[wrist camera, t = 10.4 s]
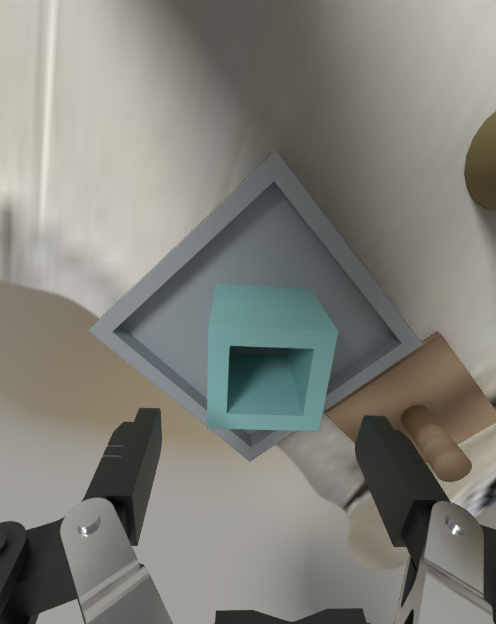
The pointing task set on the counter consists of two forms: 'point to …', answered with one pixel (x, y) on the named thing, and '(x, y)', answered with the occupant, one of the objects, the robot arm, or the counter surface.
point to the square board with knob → (423, 406)
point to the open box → (268, 359)
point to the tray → (254, 272)
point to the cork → (483, 165)
